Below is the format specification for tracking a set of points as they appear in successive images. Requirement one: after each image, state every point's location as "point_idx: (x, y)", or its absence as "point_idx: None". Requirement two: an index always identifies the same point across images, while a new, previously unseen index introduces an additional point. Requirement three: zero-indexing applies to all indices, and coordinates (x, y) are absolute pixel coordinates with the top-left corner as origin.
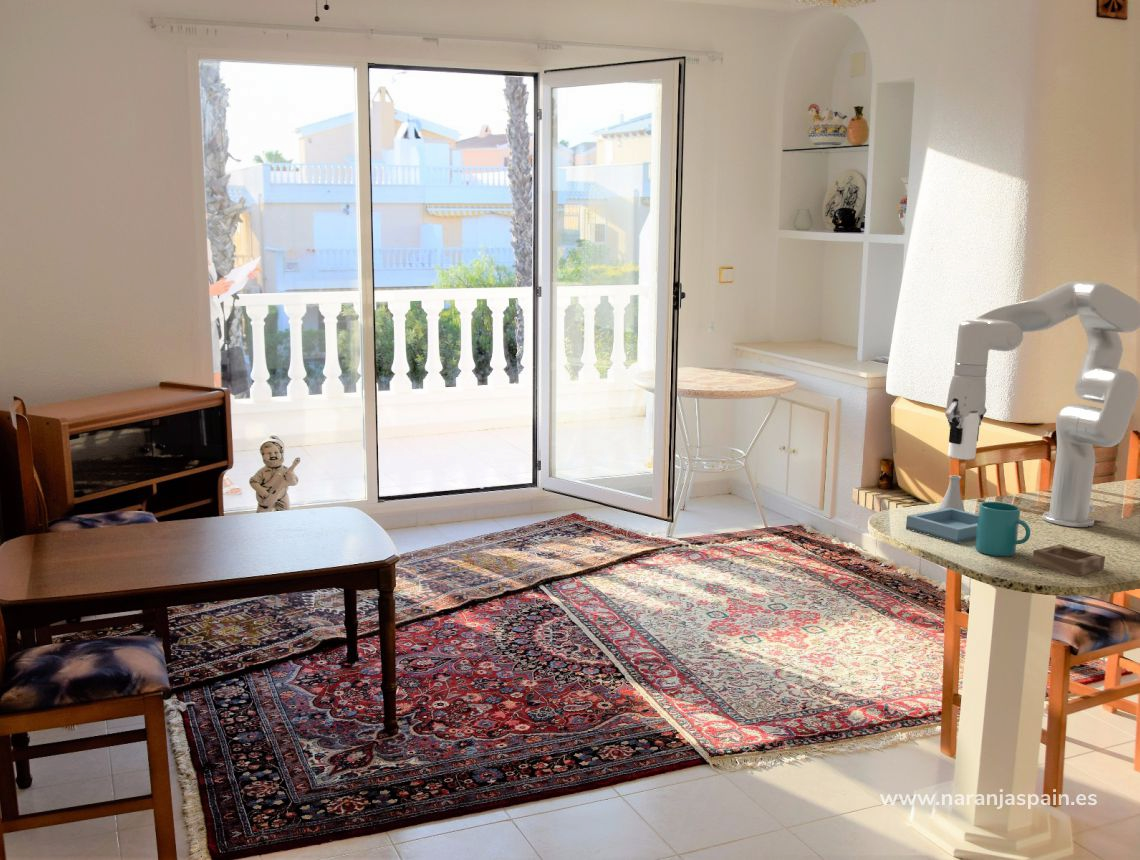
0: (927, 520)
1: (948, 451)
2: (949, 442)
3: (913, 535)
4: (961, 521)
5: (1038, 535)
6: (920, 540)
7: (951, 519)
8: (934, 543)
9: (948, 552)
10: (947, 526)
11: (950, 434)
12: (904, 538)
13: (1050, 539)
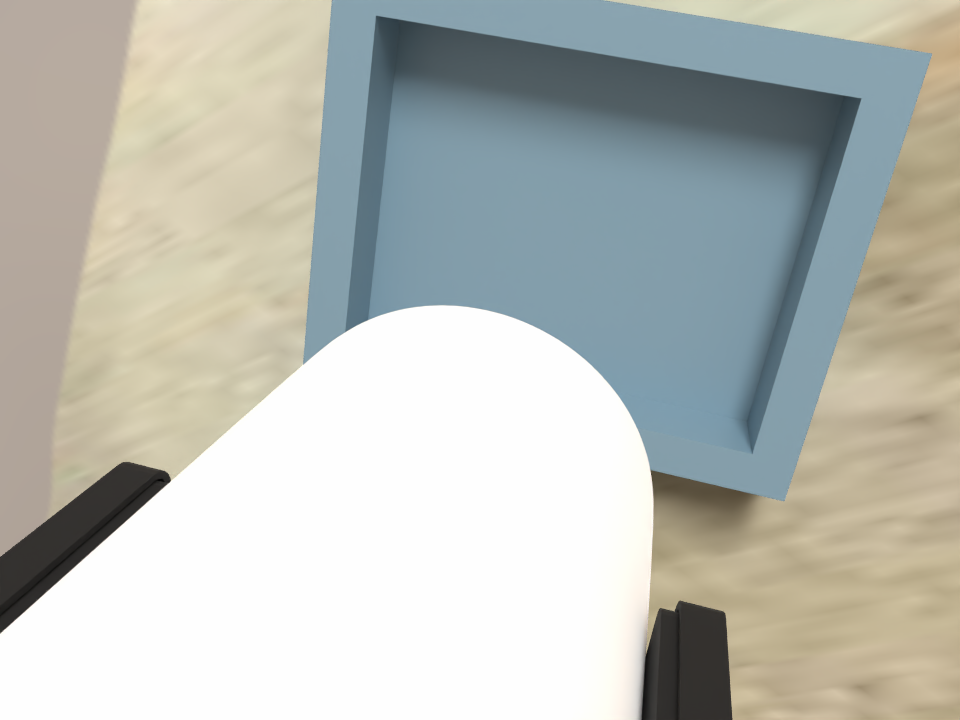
0: (338, 143)
1: (329, 346)
2: (242, 419)
3: (272, 90)
4: (817, 192)
5: (944, 626)
6: (212, 179)
7: (843, 100)
8: (229, 266)
9: (146, 390)
10: (314, 310)
11: (31, 556)
12: (164, 89)
13: (894, 692)
